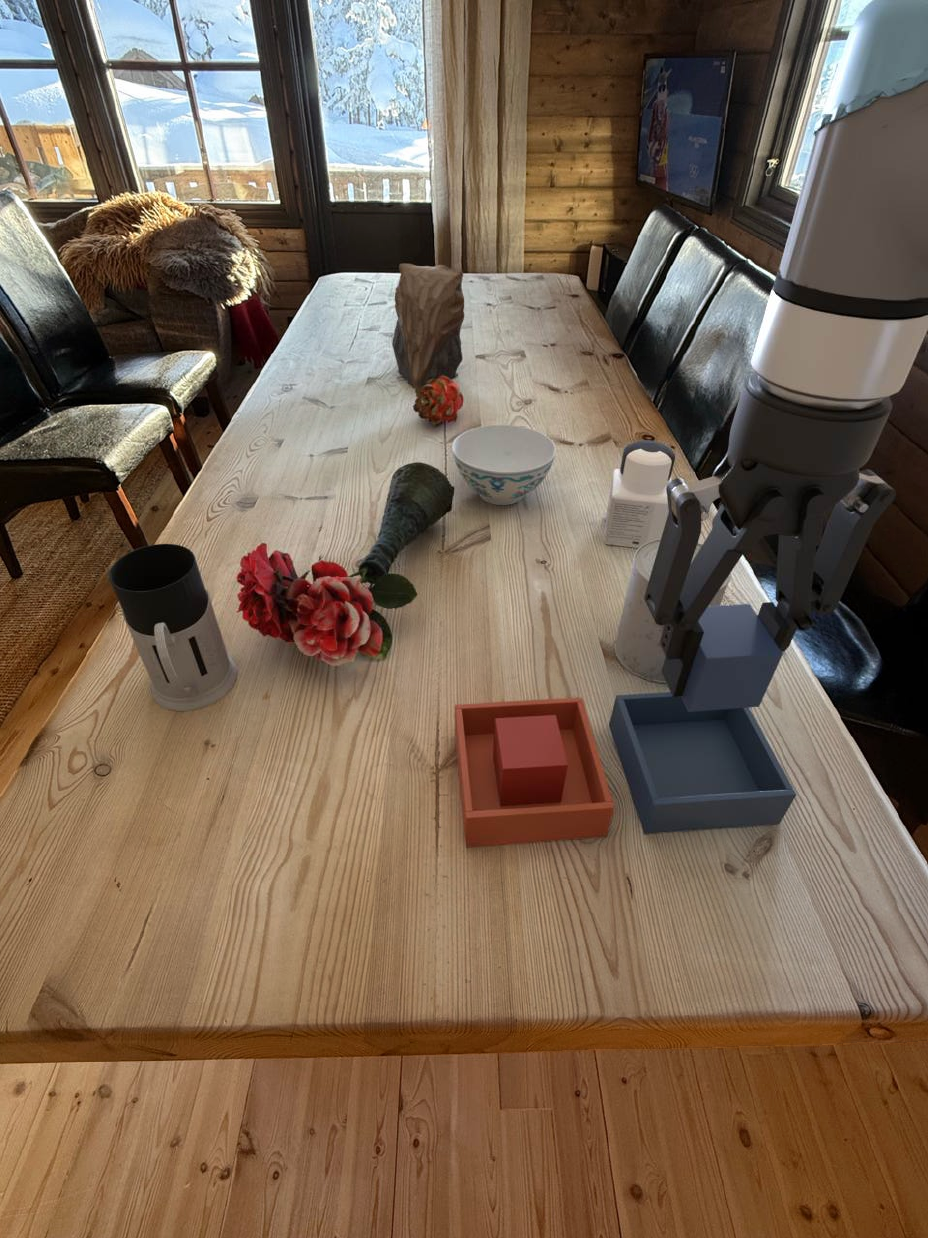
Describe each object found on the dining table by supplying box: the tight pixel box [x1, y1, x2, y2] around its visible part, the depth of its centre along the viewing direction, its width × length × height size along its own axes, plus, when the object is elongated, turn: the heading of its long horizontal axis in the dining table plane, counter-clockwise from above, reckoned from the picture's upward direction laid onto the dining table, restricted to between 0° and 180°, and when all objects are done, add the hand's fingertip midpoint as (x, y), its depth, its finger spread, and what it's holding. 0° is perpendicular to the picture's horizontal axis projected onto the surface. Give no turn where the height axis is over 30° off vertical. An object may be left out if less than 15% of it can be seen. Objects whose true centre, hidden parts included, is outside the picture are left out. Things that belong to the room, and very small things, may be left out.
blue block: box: [664, 603, 784, 712], centre depth 49 cm, size 6×6×6 cm
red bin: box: [454, 696, 616, 848], centre depth 59 cm, size 12×12×4 cm
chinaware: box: [451, 424, 557, 506], centre depth 98 cm, size 15×15×8 cm
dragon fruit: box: [412, 376, 465, 427], centre depth 118 cm, size 8×8×12 cm
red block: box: [493, 715, 568, 806], centre depth 59 cm, size 6×6×6 cm
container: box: [603, 439, 676, 549], centre depth 88 cm, size 8×8×13 cm
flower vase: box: [236, 461, 456, 667], centre depth 79 cm, size 16×18×35 cm
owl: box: [391, 263, 465, 389], centre depth 130 cm, size 13×13×20 cm
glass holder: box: [108, 543, 238, 712], centre depth 63 cm, size 9×14×15 cm, turn 20°
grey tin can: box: [613, 539, 732, 684], centre depth 70 cm, size 10×10×12 cm
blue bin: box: [608, 691, 797, 835], centre depth 60 cm, size 12×12×4 cm
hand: (711, 680), depth 51 cm, fingers closed on blue block, 5 cm apart
